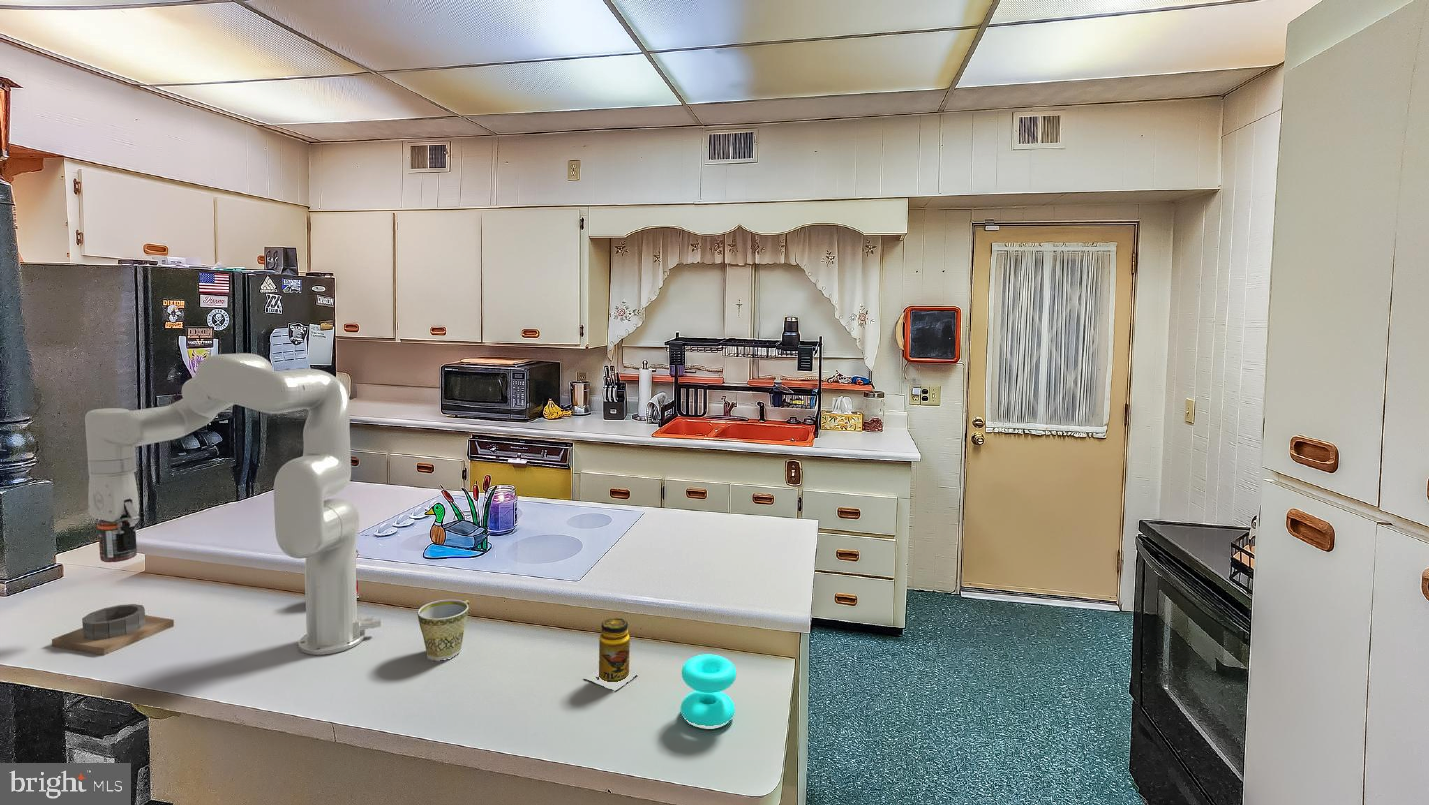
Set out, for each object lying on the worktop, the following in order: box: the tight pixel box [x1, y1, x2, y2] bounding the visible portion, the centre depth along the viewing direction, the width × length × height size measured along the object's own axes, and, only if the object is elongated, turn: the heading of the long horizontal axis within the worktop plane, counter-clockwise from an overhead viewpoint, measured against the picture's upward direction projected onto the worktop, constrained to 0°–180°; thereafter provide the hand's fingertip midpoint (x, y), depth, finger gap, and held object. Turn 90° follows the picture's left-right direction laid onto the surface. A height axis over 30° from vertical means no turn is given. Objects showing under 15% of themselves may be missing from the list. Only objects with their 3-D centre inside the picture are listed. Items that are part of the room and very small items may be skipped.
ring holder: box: [51, 603, 175, 656], centre depth 141 cm, size 14×14×5 cm
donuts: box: [680, 653, 737, 726], centre depth 118 cm, size 10×10×10 cm
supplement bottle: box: [97, 515, 138, 563], centre depth 140 cm, size 6×6×11 cm
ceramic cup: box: [417, 599, 471, 662], centre depth 139 cm, size 13×10×10 cm
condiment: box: [598, 617, 631, 682], centre depth 131 cm, size 7×8×12 cm
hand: (118, 547), depth 141 cm, fingers closed on supplement bottle, 6 cm apart
